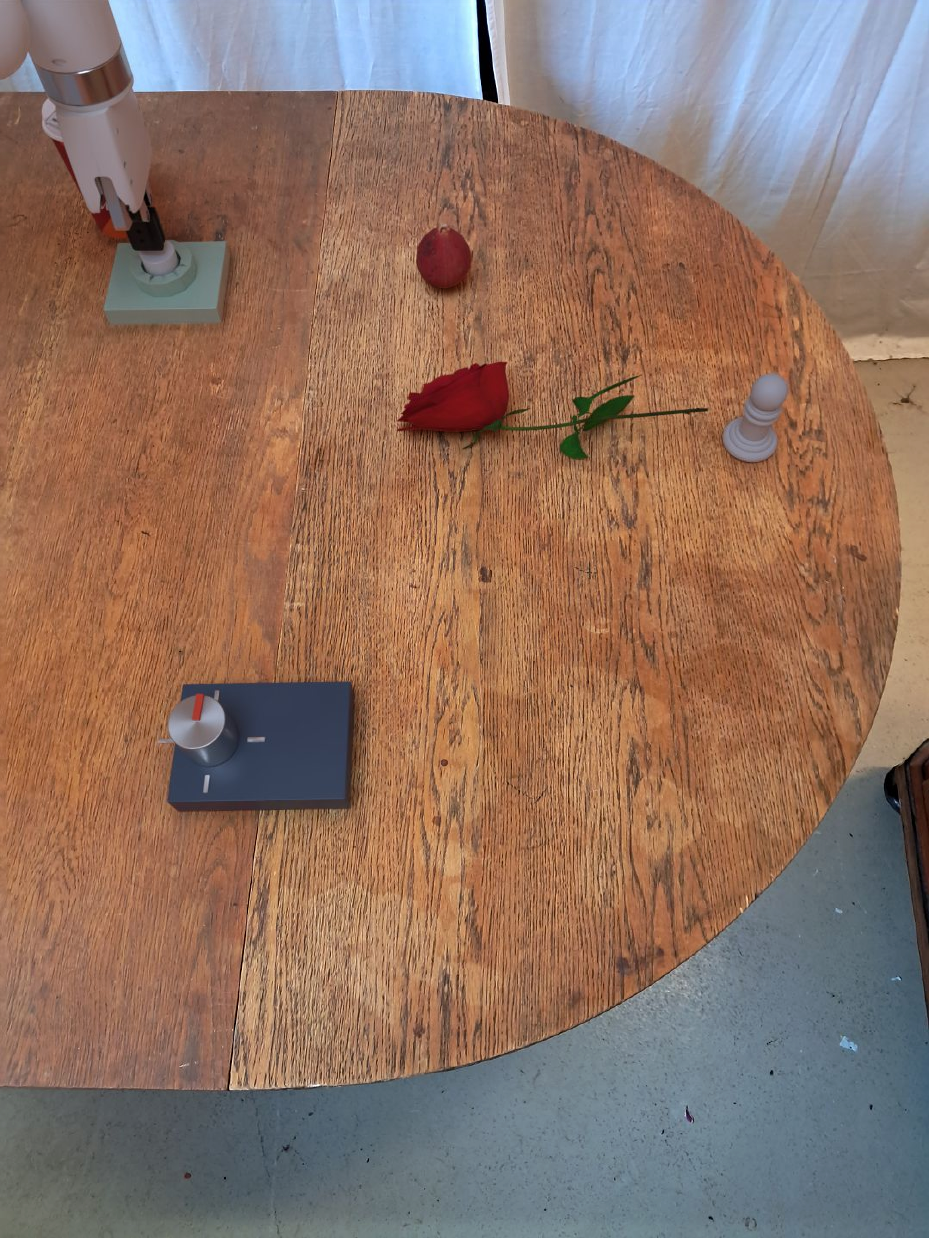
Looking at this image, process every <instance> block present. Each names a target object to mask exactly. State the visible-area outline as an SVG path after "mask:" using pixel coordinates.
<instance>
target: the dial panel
mask: <svg viewBox="0 0 929 1238" xmlns="http://www.w3.org/2000/svg"><path fill="white" fill-rule="evenodd" d="M351 682H352V681H350V680H347V681H343V680H342V681H291V682H290V681H289V682H284V681H283V682H238V683H237V682H232V683H227V682H226V683H183V684H182V688H181V695H180V702H181V701H182V700H184V699H186V698H188V697H191V696H195V695H196V694H204V695H206V696H209V697H212V698H214V699H216V700H217V701H218V702H219V703H220V704H221V705H222V707H223V708H224V710H225V711H226V712H227V714H228V715H229V717H230V718H231V719H232V721H233V722H234V724H235V725H236V727H237V729H238V733H239V741H238V745H237V748H236V750H235V752H234V753H233V754H232V756H231V757H230V758H229V759H227V760H226V761H225V762H223V763H221V764H219V765H215V766H201V765H198V764H196V763H194V762H193V761H191V760H190V759H189V757H188V756H187V755H186V754H185V753H184V752H183V751H182V750H181V749H180V748H179V747H178V746H177V745H176V744H175V743H174V742H173V740H172V739H171V738H158V740H157V743H158V745H159V744H174V748H173V755H172V762H171V763H172V764H171V769H170V770H171V771H170V776H169V785H168V791H167V792H168V793H167V804H169V805H170V806H171V807H172V808H173V809H175V810H176V811H177V812H179V813H181V812H182V813H183V812H233V811H235V812H237V811H289V810H291V811H292V810H293V811H295V810H296V811H297V810H347V809H350V808H351V791H352V769H353V768H352V767H353V766H352V765H353V741H354V723H355V722H354V721H355V696H356V693H355V691H354V689H353V686H352V683H351Z"/></svg>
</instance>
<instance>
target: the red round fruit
mask: <svg viewBox="0 0 929 1238" xmlns="http://www.w3.org/2000/svg"><path fill="white" fill-rule="evenodd" d="M415 265H416V269H417V271H418V273H419V275H420V276H421V278H422V280H423V281H424V282H426V283H427V284H429V285H430V286H432V287H435V288H439V289H448V288H451V287H454V286H457V285H459V284H461V282H462V281H464V280H465V278H466V277H467V276H468V273H469V271H470V270H471V268H472V252H471V247H470V245H469V244H468V242H467V240H466V239H465V237H464V236H463V235H462V234H461V233H460V232H458V231H457V230H455V229H453V228H451V227H450V225H449V223H447V222H442V223H441V224H440V225H438V226H436V227H434V228H432V229H430V230H429V231H428V232H427V233H425V234H424V235H423V237H422V238H421V240H420V241H419V243H418V244H417V248H416V259H415Z"/></svg>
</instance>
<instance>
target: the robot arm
mask: <svg viewBox="0 0 929 1238" xmlns="http://www.w3.org/2000/svg"><path fill="white" fill-rule="evenodd" d="M109 1H110V0H0V81H2V80H6V79H7V78H9V77H11V76H13V75H14V74H15V73H16V72H17V71H19V69H20V68H21V67H22V65H23V64H24V62H25V61H26V60H27V56H28V55H29V57H30V60H31V62H32V64H33V67H34V69H35V72H36V75H37V76H38V78H39V81H40V83H41V85H42V88H43V90H44V93H45V95H46V97H47V99H49V100H50V101H51V102H52V103H53V104H54V105H55V112H56V116H57V120H58V124H59V128H60V132H61V135H62V139H63V142H64V145H65V149H66V152H67V155H68V158H69V160H70V163H71V166H72V169H73V172H74V174H75V177H76V180H77V182H78V185H79V188H80V190H81V193H82V195H83V197H82V199H83V198H84V199H83V201H84V204H85V205H86V207H87V209H88V211H89V212H90V214H91V213H93V214H96V213H100V211H101V206H102V202H103V198H104V195H105V199H106V202H107V205H108V209H109V212H110V215H111V219H112V222H113V225H114V228H115V230H125V231H126V233H127V236H128V237H127V238H128V241H129V243H131V246H132V248H133V249H134V250H135V251H162V250H163V249H164V243H165V240H167V237H166V235H165V231H164V229H163V226H162V224H161V220H160V217H159V214H158V211H157V209H156V206H154V197H153V194H152V193H153V192H152V189H151V185H150V182H149V176H150V175H149V174H150V170H151V166H152V165H151V164H152V159H153V146H152V145H153V144H152V141H151V138H150V137H151V136H150V133H149V131H148V130H149V129H148V127H147V124H146V121H145V118H144V115H143V112H142V109H141V107H140V104H139V101H138V99H137V97H136V93H135V91H134V88H133V86H134V84H135V83H134V82H135V79H134V74H133V71H132V69H131V68H132V67H131V65H130V62H129V59H128V55H127V52H126V50H125V46H124V43H123V40H122V37H121V34H120V31H119V28H118V24H117V22H116V20H115V16H114V14H113V10H112V7H111V4H110V2H109ZM81 193H80V194H81ZM82 195H81V196H82Z"/></svg>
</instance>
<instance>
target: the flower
mask: <svg viewBox="0 0 929 1238" xmlns="http://www.w3.org/2000/svg"><path fill="white" fill-rule="evenodd" d="M508 363H509V362H508V361H497V362H492V363H488V364H487V363H484V364H482V365H480V364H479V363H477V362H475V363H473V364H471V365H470V367H468V366H467V367H462V368H459V369H456V370H455V371H454V372H453V373H449V374H442V375H438V376H437V377H435V378H434V379H432V381H430V382H427V383H423V384H422V390H421V391H420V392H414V391H413V392H411V391H410V392H409V393H408V396H407V397H406V399H407V400H409V402H408V403H405V404H404V406H403V408H404V410H403V411H402V412H400V415H401V416H400V417H399V418H398V419H397V420H396V422H398V423H399V422H400V423H409V424H410V425H411V426H406V427H399V428H397V429H396V431H397V432H407V431H412V430H414V431H415V430H416V431H417V430H424V431H434V432H435V431H436V432H446V433H452V432H453V433H454V432H456V433H457V432H459V433H460V432H461V433H462V432H468V431H470V432H471V431H476V430H478V431H477V432H475V433H473V435H472V436H471V439H472V440H473V442H471V443H470V444H468V445H466V446H464V447H463V448H462V450H465V449H467V448H470V447H471V446H474V445H475V444H476V443H478V440H479V437H480V435H481V433H483V432H485V431H487V430H489V431H493V433H496V434H497V433H498V430H502V431H503V430H504V431H511V432H513V431H516V432H518V431H519V432H526V431H527V432H529V431H536V432H537V431H542V430H551V429H561V428H565V427H571V426H573V431H574V433H571V434H570V435H568V436H566V437H565V438H564V439H563V440H562V441H561V443H560V445H559V450H560V452H561V453H562V454H563V455H564V456H565V457H568V458H570V459H575V460H581V459H583V460H584V459H588V458H590V457H589V456H588V455H587V454H586V452H585V451H584V449H583V448H582V444H581V440H580V435H581V432H584V433H585V432H588V431H590V430H593V429H595V428H597V427H599V426H601V425H603V424H605V423H606V422H608V421H610V420H621V419H636V418H637V419H639V418H648V417H649V418H650V417H658V416H659V417H660V416H668V415H679V414H685V415H687V416H691V413H692V414H693V413H705V412H709V408H708V407H696V408H687V409H673V410H664V411H652V412H643V413H636V412H635V413H628V414H620V413H622V412H623V411H624V410H625V408H626V407H627V406H629V404H630V403H631V402H632V400H634V398H635V395H633V394H632V395H630V394H629V395H628V394H627V395H620V396H616V397H614V398H610V399H609V400H607V401H605V402H603V403H601V404H600V405H598V406H597V407H596V408H595V409H594V410H592V412H589V410H590V408H591V405H592V403H593V401H594V400H595V399H596V398H598V397H599V396H600V395H603V394H605V393H608V392H609V391H611V390H613V389H616V388H618V387H620V386H623V385H625V384H628V383H630V382H632V381H633V380H636V379H638V378H639V377H641V376H644V374H639V375H635V376H631V377H629V378H626V379H624V380H621V381H619V382H615V383H613V384H611V385H609V386H607V387H605V388H603V389H601V390H599V391H597V392H595V393H594V394H592V395H591V396H588V397H586V396H577V397H574V398H573V399H572V402H573V404H574V406H575V407H576V409H577V410H578V411H577V412H578V413H577V414H576V415H575V414H574V415H572V417H571V421H568V422H562V423H556V424H547V425H536V426H508V425H504V422H503V421H504V420H505V419H506V418H507V417H509V416H513V415H517V414H522V413H524V412H527V411H528V410H530V409H531V407H528V408H520V409H515V410H512V411H510V412H508V413H507V407H508V406H509V401H510V400H509V399H510V391H509V390H510V389H509V385H508V377H507V373H506V372H507V371H506V366H507V365H508ZM588 414H589V416H588V417H586V418H582V419H578V418H581V417H582V416H584V415H588ZM580 424H582V425H581V427H580V428H578V426H577V425H580ZM580 431H581V432H580Z"/></svg>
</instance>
